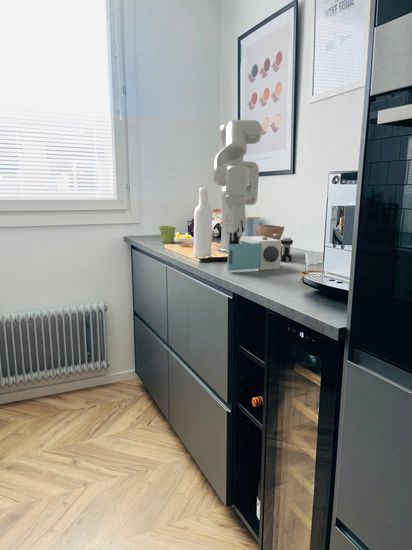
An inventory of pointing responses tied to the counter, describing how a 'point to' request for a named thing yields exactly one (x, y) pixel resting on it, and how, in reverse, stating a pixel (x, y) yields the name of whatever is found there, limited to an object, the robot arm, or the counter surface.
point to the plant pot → (167, 233)
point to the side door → (244, 256)
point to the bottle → (202, 226)
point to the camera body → (266, 251)
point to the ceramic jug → (270, 232)
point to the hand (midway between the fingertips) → (233, 250)
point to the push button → (286, 250)
